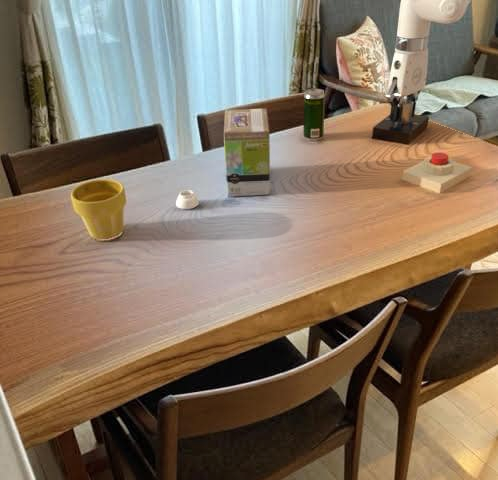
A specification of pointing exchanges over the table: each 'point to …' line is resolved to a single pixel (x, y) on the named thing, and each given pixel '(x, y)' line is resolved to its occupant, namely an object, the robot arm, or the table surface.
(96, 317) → the table surface
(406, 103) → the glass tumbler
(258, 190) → the tea box
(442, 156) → the button
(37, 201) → the table surface
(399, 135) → the hob
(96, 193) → the flower pot
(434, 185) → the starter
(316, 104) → the beer can
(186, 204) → the lidless jar
